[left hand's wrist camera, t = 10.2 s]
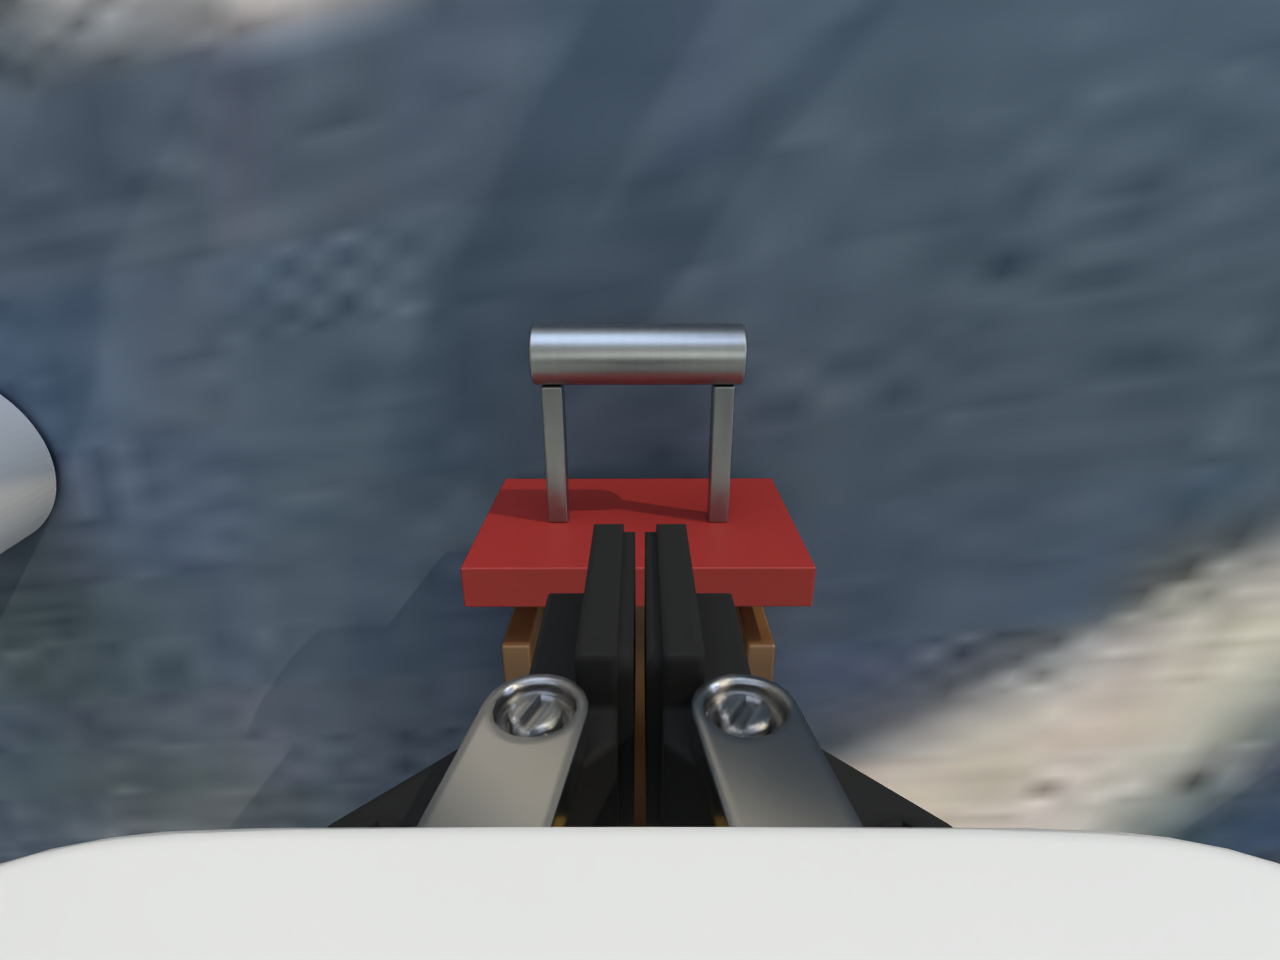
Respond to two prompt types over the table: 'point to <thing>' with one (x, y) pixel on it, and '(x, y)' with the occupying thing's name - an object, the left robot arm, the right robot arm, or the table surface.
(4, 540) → the coffee cup
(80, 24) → the table surface
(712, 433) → the drawer
